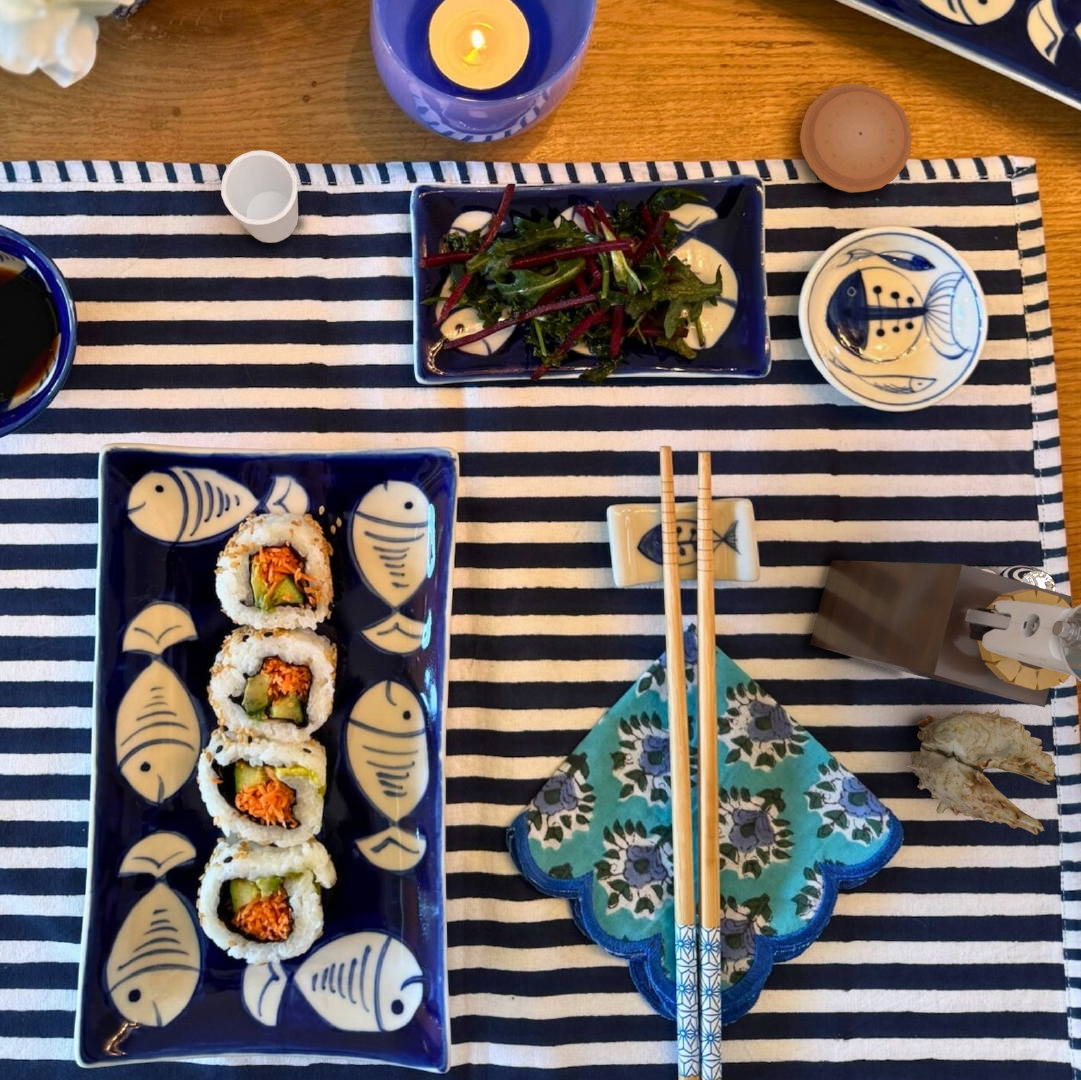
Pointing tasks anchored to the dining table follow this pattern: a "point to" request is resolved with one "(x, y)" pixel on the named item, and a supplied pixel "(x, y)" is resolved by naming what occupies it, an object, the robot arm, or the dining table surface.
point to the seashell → (978, 764)
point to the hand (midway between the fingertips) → (991, 628)
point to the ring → (1012, 668)
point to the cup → (262, 195)
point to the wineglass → (1028, 576)
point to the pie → (855, 138)
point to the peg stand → (916, 620)
